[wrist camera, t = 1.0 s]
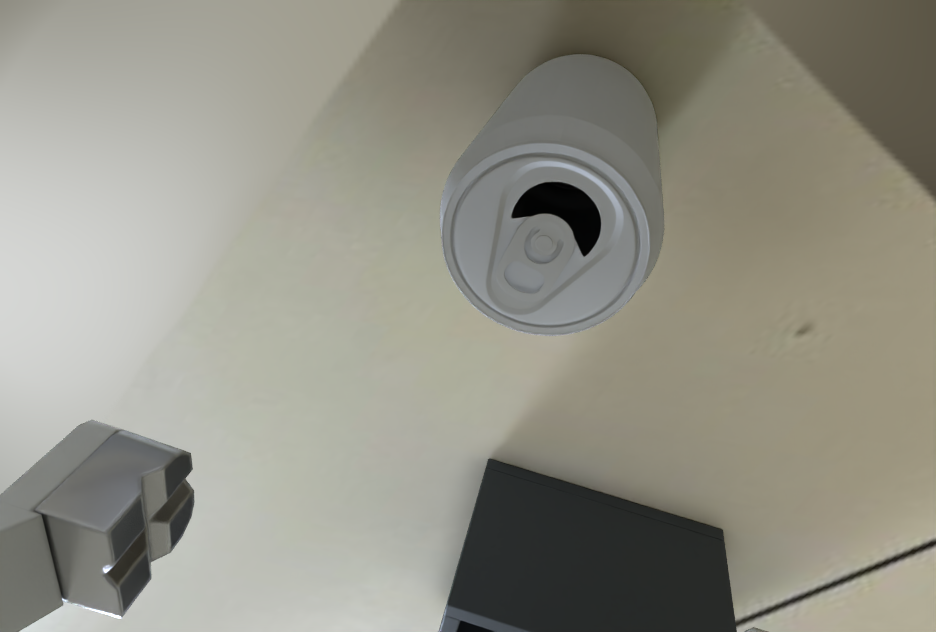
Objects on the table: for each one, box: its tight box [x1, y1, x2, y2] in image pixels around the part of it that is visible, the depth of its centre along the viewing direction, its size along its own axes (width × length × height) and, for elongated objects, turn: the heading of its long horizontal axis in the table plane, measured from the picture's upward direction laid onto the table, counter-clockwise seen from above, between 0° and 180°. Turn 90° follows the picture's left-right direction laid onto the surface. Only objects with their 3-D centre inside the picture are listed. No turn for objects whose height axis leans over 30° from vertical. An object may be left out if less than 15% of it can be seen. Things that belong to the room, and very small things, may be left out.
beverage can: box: [440, 54, 664, 336], centre depth 23 cm, size 6×6×12 cm
